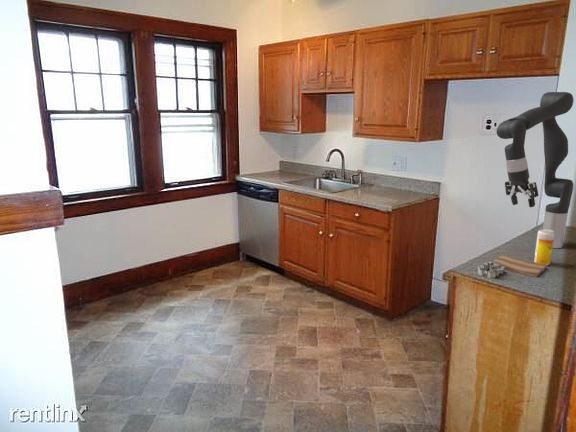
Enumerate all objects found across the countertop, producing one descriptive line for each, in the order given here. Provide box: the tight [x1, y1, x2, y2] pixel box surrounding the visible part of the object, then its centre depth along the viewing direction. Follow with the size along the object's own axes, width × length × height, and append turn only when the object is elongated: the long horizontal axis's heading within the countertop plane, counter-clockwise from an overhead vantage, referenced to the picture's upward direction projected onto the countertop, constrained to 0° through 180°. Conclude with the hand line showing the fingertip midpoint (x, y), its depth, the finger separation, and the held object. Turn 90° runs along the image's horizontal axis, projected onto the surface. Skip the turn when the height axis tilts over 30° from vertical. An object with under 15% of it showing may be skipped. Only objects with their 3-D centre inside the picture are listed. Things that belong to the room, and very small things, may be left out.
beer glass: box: [533, 228, 554, 266], centre depth 177 cm, size 6×6×15 cm
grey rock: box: [476, 260, 504, 279], centre depth 170 cm, size 11×8×4 cm
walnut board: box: [491, 255, 548, 278], centre depth 175 cm, size 13×18×2 cm
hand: (523, 205), depth 172 cm, fingers open, 8 cm apart
